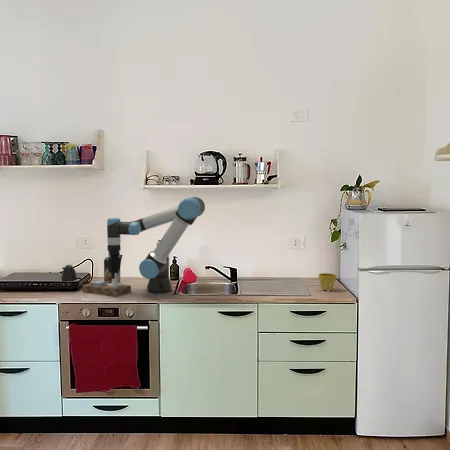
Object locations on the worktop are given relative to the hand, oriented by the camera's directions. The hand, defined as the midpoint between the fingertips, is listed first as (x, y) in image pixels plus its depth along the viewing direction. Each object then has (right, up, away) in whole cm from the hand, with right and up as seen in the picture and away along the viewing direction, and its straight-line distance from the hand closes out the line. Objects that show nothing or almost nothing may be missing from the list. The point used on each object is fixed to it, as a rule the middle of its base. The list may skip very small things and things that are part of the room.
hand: (114, 283), depth 305 cm
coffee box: (-7, -3, +28) cm, 29 cm away
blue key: (-11, -3, +6) cm, 12 cm away
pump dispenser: (-30, -5, +10) cm, 32 cm away
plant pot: (+128, -6, +12) cm, 129 cm away
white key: (0, -3, 0) cm, 3 cm away
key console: (-5, -5, +3) cm, 8 cm away
